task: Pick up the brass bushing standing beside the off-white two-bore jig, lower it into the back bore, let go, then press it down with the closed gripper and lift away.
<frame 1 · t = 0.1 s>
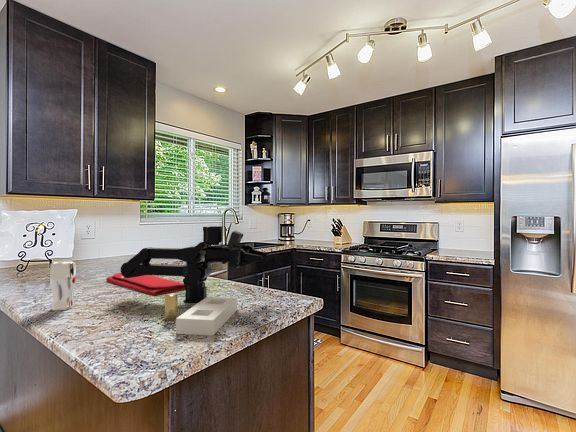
hand: (264, 256, 110), 17 cm above the countertop, tool horizontal, fingers open, 9 cm apart
brass bushing: (171, 318, 94), on the countertop
white carton: (63, 308, 104), on the countertop
jig: (209, 320, 92), on the countertop
dish drying mat: (145, 286, 138), on the countertop
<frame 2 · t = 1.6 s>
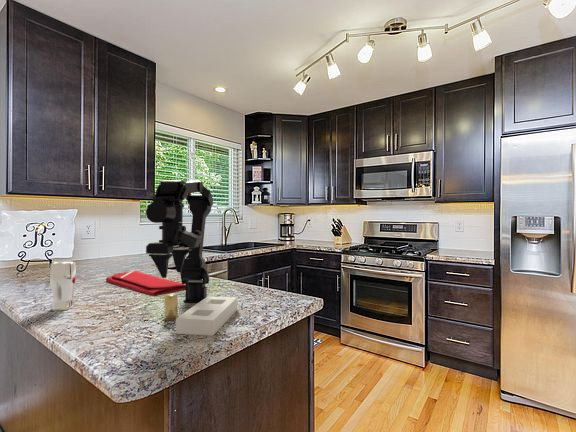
hand: (172, 274, 94), 13 cm above the countertop, tool pointing down, fingers open, 9 cm apart
nothing on the countertop moved.
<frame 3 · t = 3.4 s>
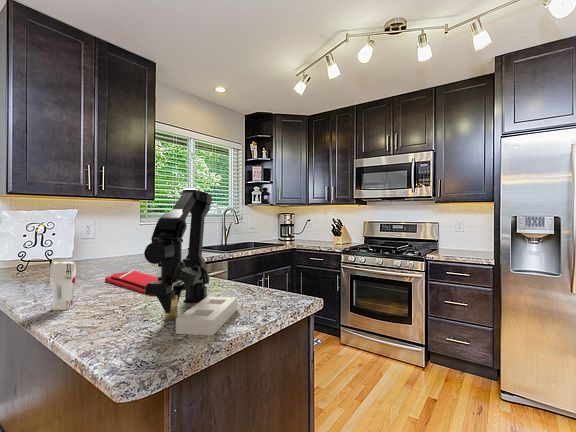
hand: (171, 311, 94), 2 cm above the countertop, tool pointing down, fingers closed on brass bushing, 4 cm apart
brass bushing: (171, 318, 94), on the countertop, touching gripper
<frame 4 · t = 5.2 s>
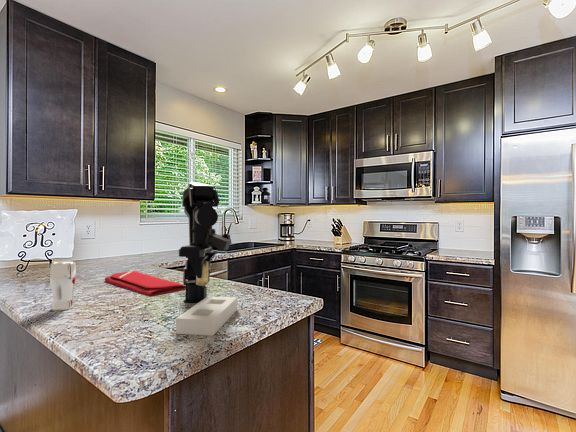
hand: (202, 276, 96), 12 cm above the countertop, tool pointing down, fingers closed on brass bushing, 4 cm apart
brass bushing: (202, 284, 96), point 10 cm above the countertop, touching gripper
when the fingers open (5 cm above the countertop, at t = 7.5 s): brass bushing drops 3 cm, resting in jig.
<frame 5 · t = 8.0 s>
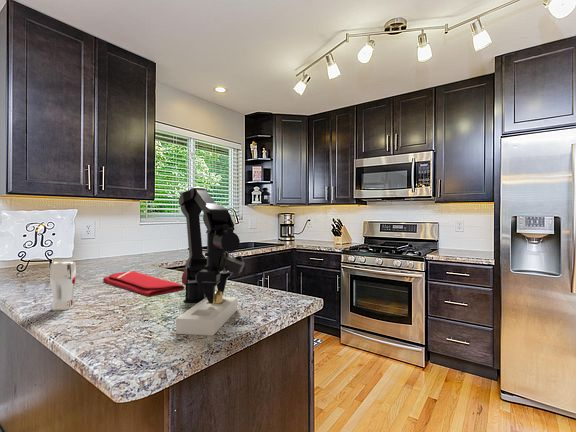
hand: (216, 299, 98), 5 cm above the countertop, tool pointing down, fingers open, 9 cm apart
brass bushing: (216, 314, 98), resting in jig
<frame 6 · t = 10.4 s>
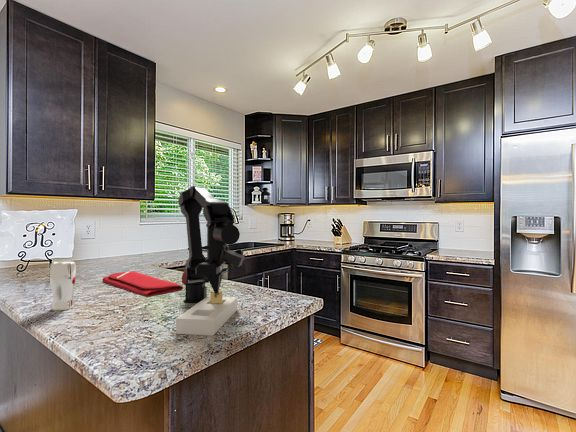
hand: (216, 292, 98), 7 cm above the countertop, tool pointing down, fingers closed, pressing on brass bushing
brass bushing: (216, 314, 98), resting in jig, touching gripper
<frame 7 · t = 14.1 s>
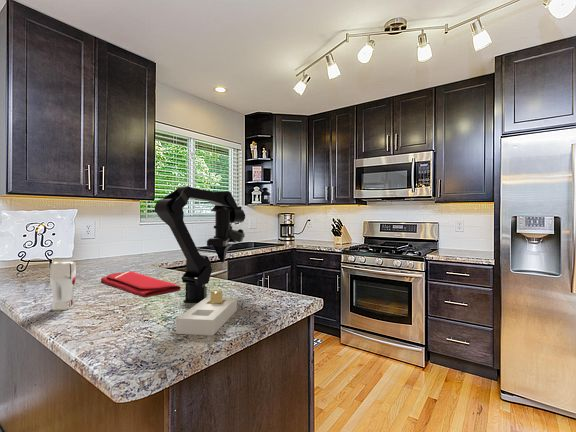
hand: (222, 262, 125), 12 cm above the countertop, tool pointing down, fingers closed
brass bushing: (216, 314, 98), resting in jig
at the end: brass bushing 0.1 cm from the target spot on the jig, point 0.0 cm above the jig's base; brass bushing tilted 0°; the gripper is holding nothing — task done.
